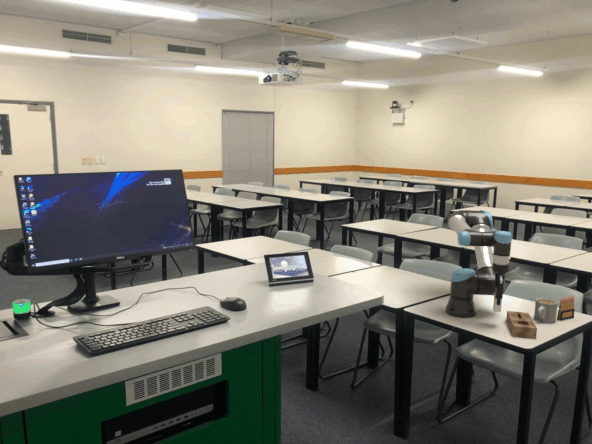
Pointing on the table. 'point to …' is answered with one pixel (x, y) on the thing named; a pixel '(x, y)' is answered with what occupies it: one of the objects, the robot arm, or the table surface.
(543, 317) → the coffee mug
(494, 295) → the brass square peg
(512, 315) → the walnut bore block
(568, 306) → the ammunition clip
